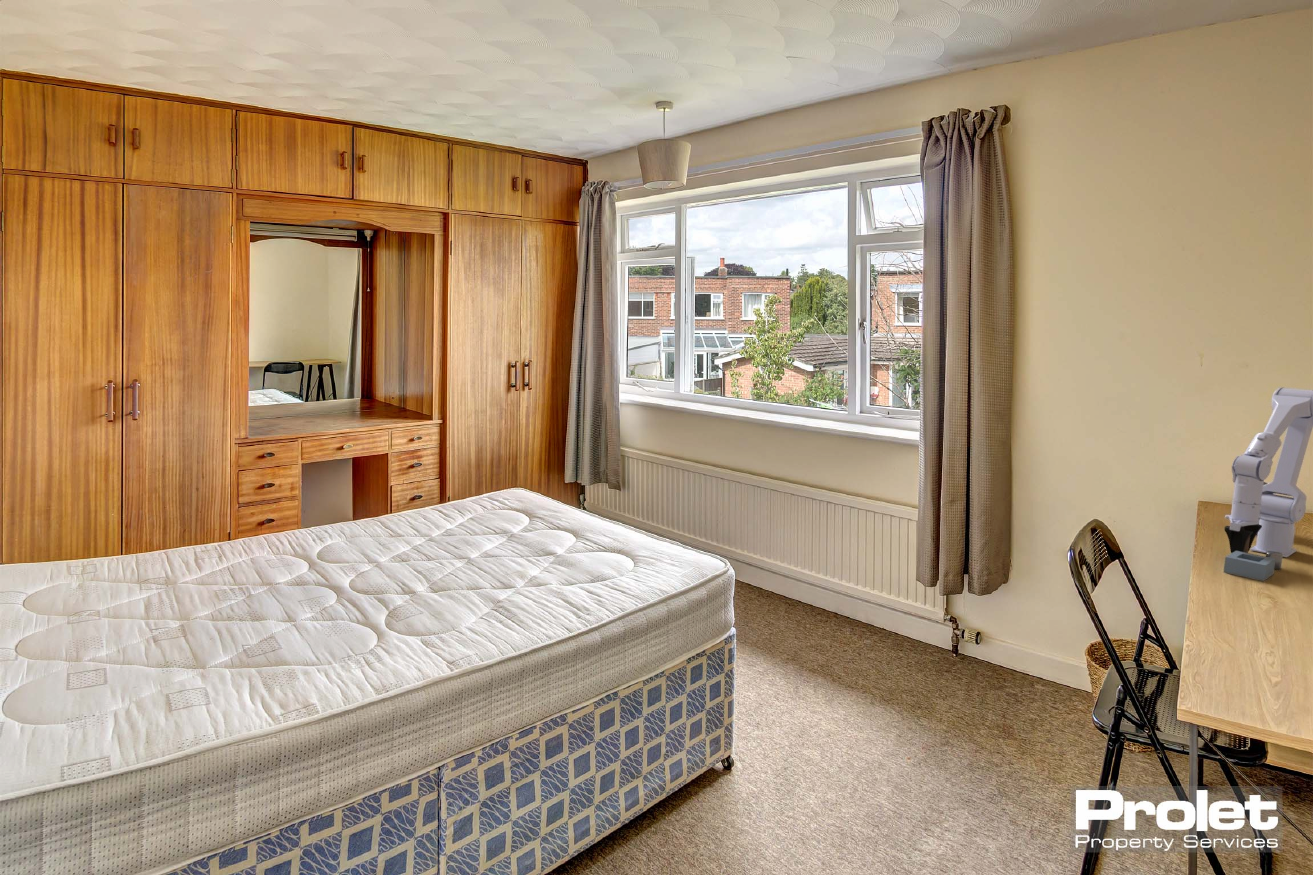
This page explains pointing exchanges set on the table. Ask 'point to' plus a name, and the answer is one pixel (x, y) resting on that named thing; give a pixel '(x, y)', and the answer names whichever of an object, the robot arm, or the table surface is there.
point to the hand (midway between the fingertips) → (1239, 552)
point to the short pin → (1277, 557)
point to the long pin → (1247, 546)
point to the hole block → (1249, 565)
